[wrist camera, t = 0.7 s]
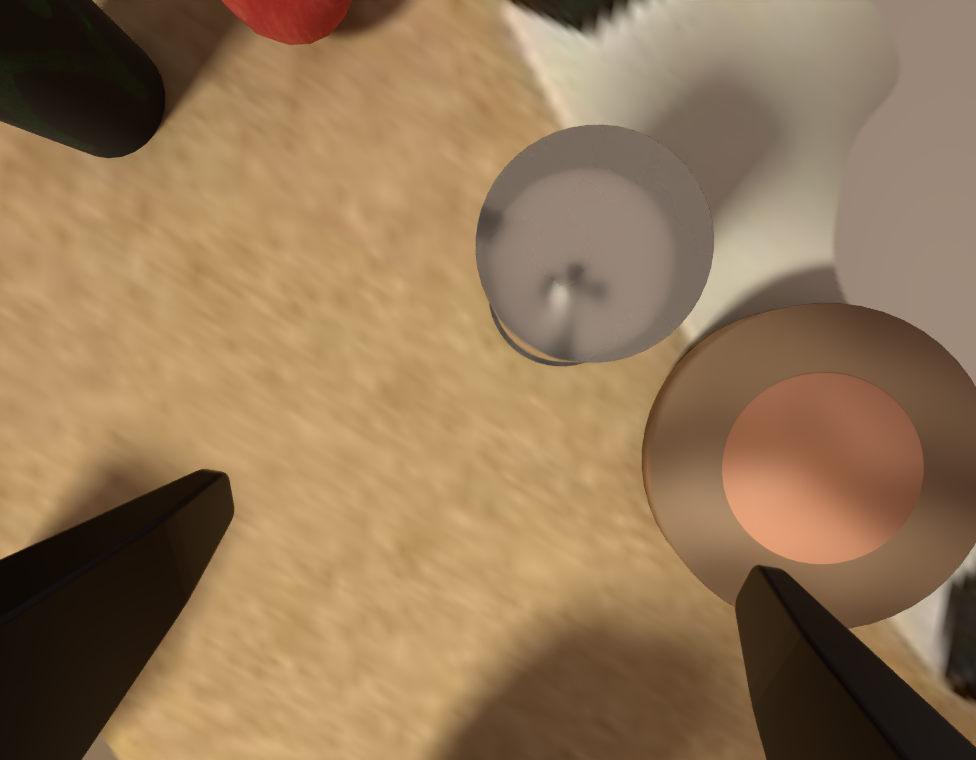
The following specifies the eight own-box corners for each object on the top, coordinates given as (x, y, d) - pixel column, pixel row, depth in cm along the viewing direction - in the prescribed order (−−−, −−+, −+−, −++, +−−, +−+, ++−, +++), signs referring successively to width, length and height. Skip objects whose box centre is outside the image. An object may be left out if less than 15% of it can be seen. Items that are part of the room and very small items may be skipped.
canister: (624, 370, 22) (710, 379, 12) (485, 360, 23) (459, 361, 13) (636, 229, 22) (733, 121, 12) (495, 221, 22) (476, 111, 13)
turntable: (918, 610, 22) (977, 647, 19) (625, 582, 23) (640, 614, 20) (950, 320, 21) (1016, 314, 19) (648, 301, 22) (667, 292, 19)
